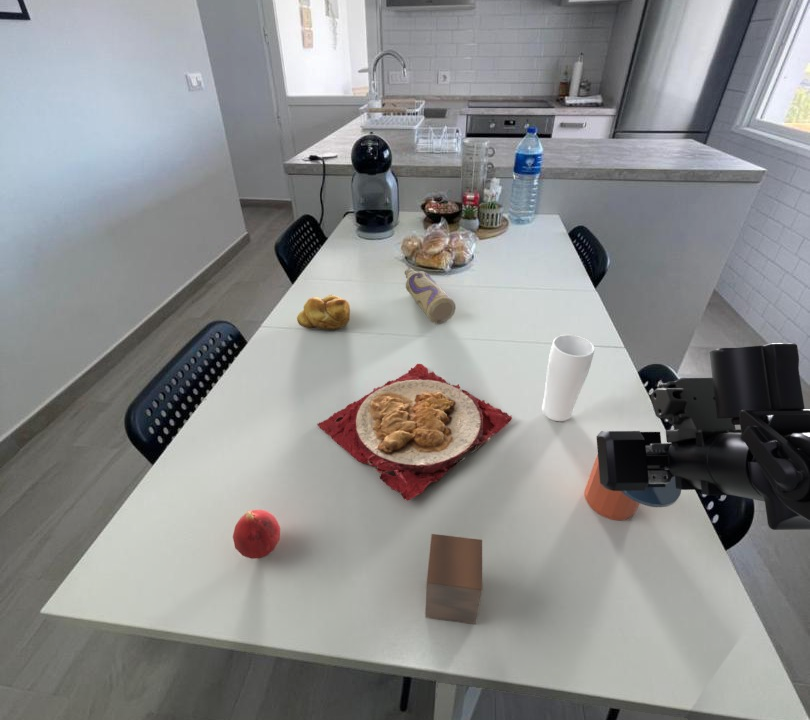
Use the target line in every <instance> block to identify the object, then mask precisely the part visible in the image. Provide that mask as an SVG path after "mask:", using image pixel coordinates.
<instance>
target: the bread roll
mask: <svg viewBox="0 0 810 720" xmlns="http://www.w3.org/2000/svg"><path fill="white" fill-rule="evenodd" d="M350 319H351V306H350V303H349V301H348V300H347V299H345V298H342V297H340V296H338V295H333V294H328V295H327V296H324V297H323V298H321V297H319V296H313V297H309V298H308V299H307V300H306V301H305V302H304V305H303V310H301V311H300V312H299V313H298V314H297V316H296V321H297V323H298V325H299V326H300V327H303V328H305V329H318V330H324V331H334V330H339V329H342V328H344V327H345V326H346V325H347V324H348V323H349V321H350Z"/></svg>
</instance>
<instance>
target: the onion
mask: <svg viewBox="0 0 810 720" xmlns="http://www.w3.org/2000/svg"><path fill="white" fill-rule="evenodd" d="M233 529H234V530H233V533H232V539H233V540H232V541H233V544H234V549H235V550H236V551H237V552H239V553H240V555H241V556H242V557H245V558H249V559H251V560H255V559H256V560H257V559H261V558H265V557H267V556H269V554H271V553H272V552H273V551H275V549H276V547H277V546H278V544H279V542H280V540H281V527H280V524H279V522H278V519H277V518H276V517H275V515H273V514H272V513H270V512H269V511H267V510H263V509H252V510H248V511H246V513H245V514H243V515H242V516H241V517H240V518H239V519H238V521H237V522H236V524H235V525H234V528H233Z"/></svg>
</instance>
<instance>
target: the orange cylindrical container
mask: <svg viewBox="0 0 810 720" xmlns="http://www.w3.org/2000/svg"><path fill="white" fill-rule="evenodd" d="M584 498H585V500H586V502H587V504H588V505H589V507H590V508H591V509H592V510H593V511H594V512H596V513H597V514H598V515H600V516H602V517H604V518H606V519H610V520H613V521H624V520H627V519H630V518H631V517H633V516H634V515H635V513H636V511H637V510H638V508H639V506H640V505H641V504H640V503H637V502H635V501H633V500H632V499H630V498H628V497H627V496H626V495H624V494H623V493H622V492H621V491H612V490H608V489H605V488H604V487H603V486H602V485H601V484H600V477H599V463H598V453H597V454H596V457H595V460H594V462H593V466H592V469H591V471H590V474H589V476H588V479H587V482H586V486H585V488H584Z"/></svg>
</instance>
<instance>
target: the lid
mask: <svg viewBox="0 0 810 720" xmlns="http://www.w3.org/2000/svg"><path fill="white" fill-rule="evenodd" d="M666 470H668V469H666ZM665 486H666V487H647V488H646V490H645V491H621V492H622V493H623V494H624V495H626V496H627V497H628V498H630V499H632V500H633V501H635V502H637V503H640V504H639V505H642V506H646V507H651V508H667V507H670V506H672V505H674V504H675V503H676V502H678V500H679V498H680V496H681V494H682V490H680V489H676V484H675V477H673V478H672V480H671V482H670V483H668V484H665Z"/></svg>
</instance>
